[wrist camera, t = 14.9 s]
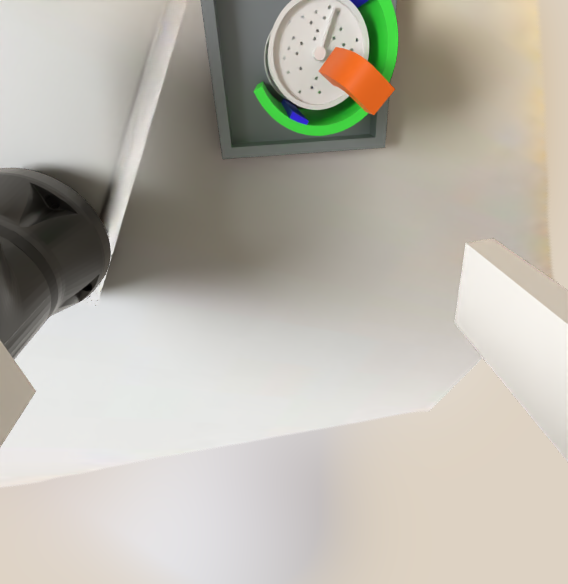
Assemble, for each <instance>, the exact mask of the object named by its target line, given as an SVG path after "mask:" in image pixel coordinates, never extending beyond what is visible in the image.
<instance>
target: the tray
mask: <svg viewBox="0 0 568 584" xmlns="http://www.w3.org/2000/svg"><path fill="white" fill-rule="evenodd" d="M290 1H292V0H201V6H202V13H203V21H204V28H205V35H206V42H207V50H208V57H209V64H210V71H211V79H212V86H213V93H214V100H215V108H216V115H217V122H218V129H219V136H220V144H221V151H222V158H223V159H233V158H247V157H261V156H275V155H288V154H302V153H316V152H330V151H344V150H358V149H372V148H385V140H386V128H387V116H388V103H389V97H388V99H387V100H386V101H385V102H384V104H383V105H382V106H381V107H380V109H379V110H378V111H377V112H376V113H375V115H372V114H369V113H368V114H367V115H366V116H365V117H364V118H363V119H362V120H360V121H359V122H358V123H356V124H355V125H353V126H351V127H350V128H348V129H346V130H343V131H341V132H338V133H335V134H330V135H324V136H311V135H305V134H300V133H297V132H294V131H292V130H290V129H288V128H286V127H284V126H283V125H281V124H280V123H278V122H277V121H276V120H274V119H273V118H272V117H271V116H270V115H269V114H268V113H267V112H266V110H265V109H264V108H263V107H262V105H261V104H260V102H259V101H258V99H257V97H256V95H255V93H254V89H255V88H256V86H257V84H259V83H261V82H264V84H265V86H266V88H267V89H268V91H269V92H270V93H271V95H272V96H273V97H274V98H276V99H277V100H278V101H280V102H282V100H283V97H282V96H281V95H279V94H278V93H277V92H276V91H275V89H274V88H273V87H272V85H271V84H270V82H269V80H268V77H267V75H266V71H265V66H264V50H265V44H266V41H267V38H268V36H269V34H270V32H271V30H272V28H273V26H274V23H275V21H276V19H277V17H278V16H279V14H280V13H281V11H282V10H283V9H284V7H285V6H286V5H287V4H288V3H289V2H290ZM391 2H392V4H393V7H394V11H395V15H396V4H397V0H391ZM389 83H390V82H389ZM284 99H285V98H284ZM285 100H287V99H285ZM287 101H289V100H287ZM289 102H290V103H292V104H294V103H293V102H291V101H289ZM294 105H295V106H296V107H297V108H303V107H300V106H298V105H296V104H294Z"/></svg>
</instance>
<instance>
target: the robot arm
mask: <svg viewBox="0 0 568 584" xmlns="http://www.w3.org/2000/svg"><path fill="white" fill-rule="evenodd" d="M110 256H111V250H110V243H109V238H108V235H107V232H106V229H105V227H104V225H103V223H102V221H101V220H100V218H99V216H98V215H97V213H96V212H95V211H94V209H93V208H92V207H91V206H90V205H89V204H88V203H87V201H86V200H84V199H83V198H82V197H81V196H80V195H79V194H78V193H77V192H75V191H74V190H73V189H71V188H70V187H68V186H67V185H65V184H64V183H62V182H60V181H58V180H56V179H55V178H52V177H50V176H48V175H45V174H43V173H39V172H36V171H32V170H27V169H21V168H1V169H0V447H1V445H2V444H3V442H4V441H5V439H6V438H7V436H8V434H9V433H10V431H11V430H12V428H13V427H14V425H15V423H16V422H17V420H18V419H19V417H20V416H21V414H22V413H23V411H24V409H25V408H26V406H27V405H28V403H29V402H30V400H31V398H32V397H33V395H34V394H35V392H36V391H35V389H34V388H33V386H32V385H31V383H30V382H29V381H28V379H27V378H26V376H25V375H24V373H23V372H22V371H21V369H20V368H19V366H18V365H17V363H16V362H15V361H14V359H15V358H16V357H17V355H18V354H19V353H20V352H21V351H22V349H23V348H24V347H25V346H26V345H27V343H28V342H29V341H30V340H31V339H32V337H33V336H34V335H35V334H36V333H37V331H38V330H39V329H40V328H41V326H42V325H43V324H44V323H45V321H46V320H47V319H48V318H49V317H50V316H52V315H54V314H56V313H58V312H60V311H62V310H64V309H66V308H68V307H70V306H72V305H74V304H77V303H78V302H80V301H82V300H84V299H85V298H86V297H88V296H89V295H90V294H91V293H92V292H93V291H94V290H95V289H96V287H97V286H98V285H99V283H100V282H101V281H102V279H103V278H104V276H105V275H106V272H107V270H108V267H109V264H110ZM454 323H455V325H456V326H457V327H458V328H459V330H460V331H461V332H462V333H463V334H464V336H465V337H466V338H467V339H468V341H469V342H470V343H471V344H472V346H473V347H474V348H475V349H476V350H477V352H478V353H479V354H480V355H481V357H482V358H483V359H484V360H485V361H486V362H487V364H488V365H489V366H490V367H491V369H492V370H493V371H494V372H495V374H496V375H497V376H498V377H499V379H500V380H501V381H502V382H503V384H504V385H505V386H506V387H507V388H508V390H509V391H510V392H511V393H512V395H513V396H514V397H515V398H516V399H517V401H518V402H519V403H520V404H521V406H522V407H523V408H524V409H525V410H526V412H527V413H528V414H529V415H530V417H531V418H532V419H533V420H534V421H535V423H536V424H537V425H538V426H539V428H540V429H541V430H542V431H543V432H544V434H545V435H546V436H547V437H548V439H549V440H550V441H551V442H552V444H553V445H554V446H555V447H556V448H557V450H558V451H559V452H560V453H561V455H562V456H563V457H564V458H565V459H566V461H567V462H568V290H567V289H566V288H564V287H562V286H561V285H560V284H559V283H557V282H556V281H554V280H553V279H551V278H550V277H548V276H547V275H546V274H544V273H543V272H541V271H540V270H538V269H537V268H535V267H534V266H533V265H531V264H530V263H528V262H527V261H525V260H524V259H522V258H521V257H520V256H518V255H517V254H515V253H514V252H512V251H511V250H510V249H508V248H507V247H505V246H504V245H502V244H501V243H499V242H498V241H497V240H495V239H494V238H492V239H486V240H479V241H473V242H467V243H466V244H465V251H464V258H463V265H462V272H461V279H460V286H459V293H458V300H457V307H456V314H455V321H454Z"/></svg>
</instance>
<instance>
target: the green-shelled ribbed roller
mask: <svg viewBox="0 0 568 584" xmlns="http://www.w3.org/2000/svg"><path fill="white" fill-rule="evenodd" d="M397 51H398V26H397V20H396V15H395V11H394V7H393V4H392V2H391V0H292V1H290V2H289V3H288V4H287V5H286V6H285V7H284V9H283V10H282V11H281V13H280V14H279V16H278V17H277V19H276V21H275V23H274V26H273V28H272V30H271V32H270V34H269V36H268V38H267V41H266V44H265V50H264V66H265V71H266V75H267V77H268V80H269V82H270V84H271V85H272V87H273V88H274V89H275V91H276V92H277V93H278V94H279V95H281V96H282V97H283V100H282V102H280V101H278V100H277V99H276V98H274V97H273V96H272V95H271V93H270V92H269V91H268V89H267V88H266V86H265V84H264V82H261V83H259V84H257V86H256V88H255V89H254V93H255V95H256V97H257V99H258V101H259V102H260V104H261V105H262V107H263V108H264V109H265V110H266V112H267V113H268V114H269V115H270V116H271V117H272V118H273V119H274V120H276V121H277V122H278V123H280V124H281V125H283V126H284V127H286V128H288V129H290V130H292V131H294V132H297V133H300V134H305V135H311V136H324V135H330V134H335V133H338V132H341V131H343V130H346V129H348V128H350V127H351V126H353V125H355V124H356V123H358V122H359V121H360V120H362V119H363V118H364V117H365V116H366V115H367V114H368V113H369V114H372V115H375V113H376V112H377V111H378V110H379V109H380V107H381V106H382V105H383V104H384V102H385V101H386V100H387V99H388V97H389V96H390V95H391V94H392V92H393V91H394V90H395V89H394V88H393V87H392V85H391V84H390V83H389V82H390V79H391V77H392V74H393V71H394V67H395V63H396V58H397ZM284 98H285V99H287V100H289V101H291V102H293V103H294V104H296V105H298V106H300V107H303V108H297V107H296V106H295V105H294V104H292V103H290V102H289V101H287V100H285V99H284Z"/></svg>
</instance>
